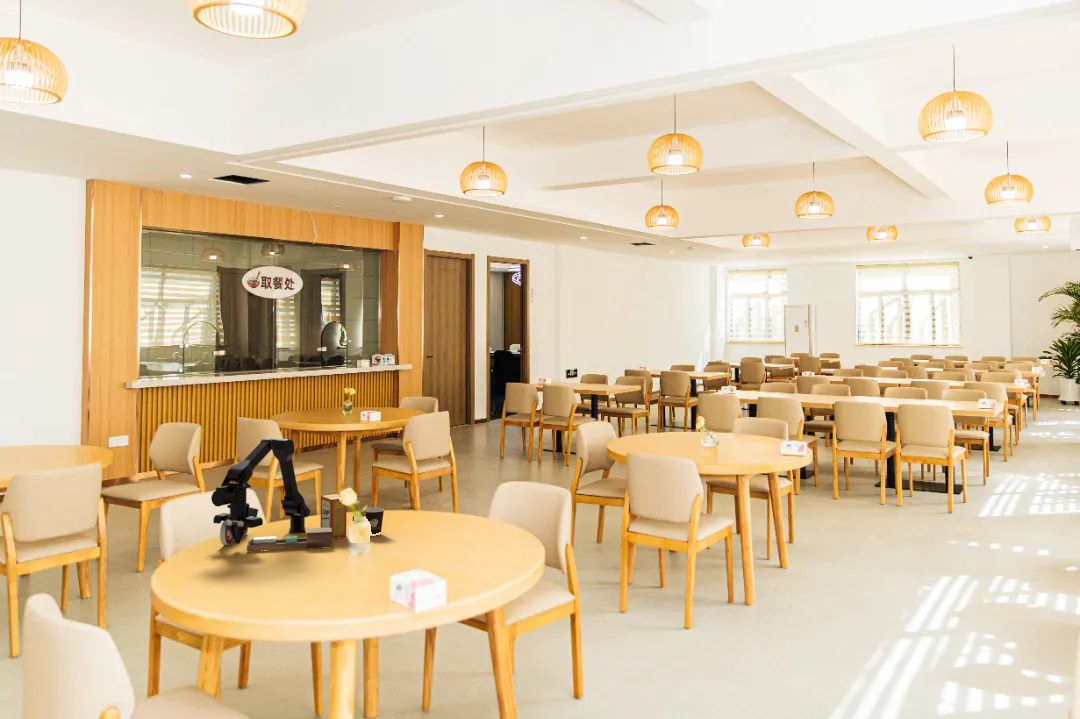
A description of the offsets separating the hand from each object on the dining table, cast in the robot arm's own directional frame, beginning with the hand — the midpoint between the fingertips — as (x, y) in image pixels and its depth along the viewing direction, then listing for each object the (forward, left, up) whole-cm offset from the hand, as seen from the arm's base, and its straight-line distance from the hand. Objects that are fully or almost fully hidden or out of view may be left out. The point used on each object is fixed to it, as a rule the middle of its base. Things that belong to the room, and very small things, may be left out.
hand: (237, 543), depth 288 cm
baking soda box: (-15, +34, -3) cm, 38 cm away
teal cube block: (0, +19, -3) cm, 19 cm away
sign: (-15, -3, -3) cm, 16 cm away
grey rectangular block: (0, +9, -2) cm, 9 cm away
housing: (0, +18, -2) cm, 19 cm away
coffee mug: (-14, +48, -3) cm, 51 cm away
